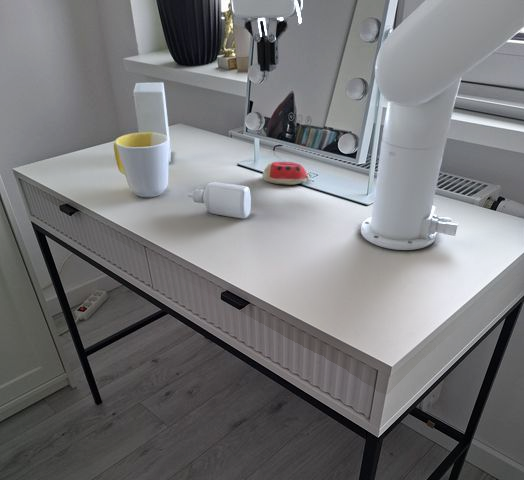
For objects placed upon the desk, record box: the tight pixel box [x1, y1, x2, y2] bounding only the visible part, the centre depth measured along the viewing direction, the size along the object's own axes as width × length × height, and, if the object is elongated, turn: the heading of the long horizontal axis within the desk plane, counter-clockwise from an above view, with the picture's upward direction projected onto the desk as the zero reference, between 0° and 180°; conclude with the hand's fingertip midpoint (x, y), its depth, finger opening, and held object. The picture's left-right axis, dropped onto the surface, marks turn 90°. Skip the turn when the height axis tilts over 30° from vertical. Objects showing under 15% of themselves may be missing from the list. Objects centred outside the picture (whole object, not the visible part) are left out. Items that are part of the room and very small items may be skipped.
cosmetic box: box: [132, 81, 172, 164], centre depth 115 cm, size 8×7×16 cm
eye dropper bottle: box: [187, 181, 252, 220], centre depth 93 cm, size 4×6×12 cm
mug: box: [113, 132, 170, 198], centre depth 101 cm, size 14×10×10 cm
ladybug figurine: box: [262, 161, 310, 186], centre depth 106 cm, size 7×10×4 cm
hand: (268, 69), depth 81 cm, fingers closed
